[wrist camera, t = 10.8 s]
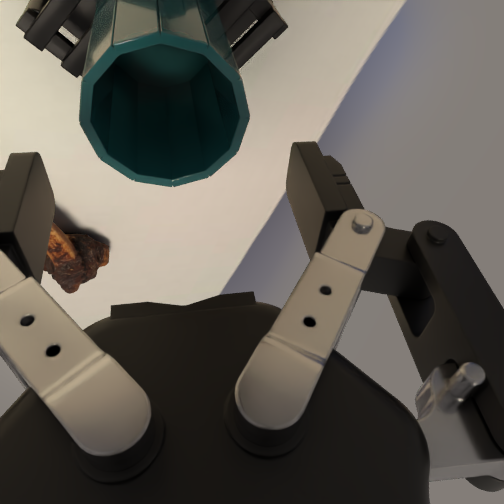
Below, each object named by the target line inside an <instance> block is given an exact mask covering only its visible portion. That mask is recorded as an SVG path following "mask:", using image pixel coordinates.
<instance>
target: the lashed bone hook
mask: <svg viewBox="0 0 504 504" xmlns="http://www.w3.org/2000/svg"><path fill="white" fill-rule="evenodd" d="M108 262H109V246H108V245H106V244H104V243H100V242H98V241H95V240H93V238H91V237H89V236H88V235H87V234H86V235H81V234H64V233H63V232H62V230H61V229H60V228H59V227H58V226H56V225H55V224H54V223H52V228H51V233H50V238H49V243H48V248H47V254H46V259H45V264H44V269H43V270H44V271H48V274H52V278H53V279H54V280H56V281H57V283H58V284H59V285H60V286H61V288H62V289H63V290H64V291H65V292H67V293H74V292H75V291H77V290H78V288H79V285H80V284H83V283H85V282H87V281H89V280H90V279H93V278H95V277H96V274H97V270H98V268H99V267H101V266H105V265H107V263H108Z"/></svg>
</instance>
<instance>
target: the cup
mask: <svg viewBox="0 0 504 504" xmlns="http://www.w3.org/2000/svg"><path fill="white" fill-rule="evenodd" d="M249 117H250V113H249V109H248V104H247V100H246V95H245V91H244V86H243V82H242V78H241V75H240V72H239V69H238V67H237V64H236V61H235V58H234V55H233V52H232V50H231V47H230V44H229V41H228V38H227V36H226V33H225V30H224V27H223V24H222V21H221V19H220V16H219V13H218V10H217V7H216V5H215V2H214V0H97V4H96V9H95V14H94V20H93V25H92V30H91V35H90V40H89V45H88V50H87V56H86V61H85V66H84V71H83V76H82V81H81V95H80V110H79V122H80V125H81V127H82V129H83V131H84V133H85V134H86V136H87V138H88V140H89V141H90V143H91V145H92V147H93V149H94V150H95V152H96V154H97V156H98V157H99V158H100V159H101V160H102V161H103V162H105V163H106V164H108V165H109V166H111V167H112V168H114V169H116V170H117V171H119V172H120V173H122V174H123V175H125V176H126V177H128V178H129V179H131V180H134V181H135V182H142V183H149V184H155V185H162V186H168V187H172V185H173V186H174V187H175V186H179V185H183V184H186V183H190V182H194V181H197V180H201V179H205V178H208V177H209V176H212V175H213V174H214V173H215V172H216V171H217V170H219V169H220V168H221V167H222V166H223V165H224V164H225V163H227V162H228V161H229V160H230V159H231V158H232V157H233V156H235V155H236V154H237V152H238V150H239V148H240V145H241V142H242V139H243V136H244V134H245V131H246V128H247V125H248V122H249V119H250V118H249Z"/></svg>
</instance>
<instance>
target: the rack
mask: <svg viewBox="0 0 504 504" xmlns="http://www.w3.org/2000/svg"><path fill="white" fill-rule="evenodd" d="M214 2H215V5H216V7H217V10H218V13H219V16H220V19H221V21H222V24H223V27H224V30H225V33H226V36H227V38H228V41H229V44H230V46H231V45H232V44H233V43H234V42H235V41H236V40H237V39H238V37H239V36H240V35H241V34H242V33H243V32H244V31H245V30H246V29H247V28H248V27H249V26H250V25H251V24H252V23H253V22H254V21H255V20H256V19H257V20H258V21H257V22H256V23H255V24H254V26H253V27H252V28H251V29H250V30H249V31H248V32H247V33H246V34H245V35H244V36H243V37H242V38H241V39H240V40H239V41H238V42H237V43H236V44H235V45H234V46H233V47H232V48H231V50H232V52H233V55H234V58H235V61H236V64H237V67H238V69H240V68H241V67H242V66H243V65H244V64H245V63H246V62H247V61H248V60H249V59H250V58H251V57H252V56H253V55H254V54H255V53H256V52H257V51H258V50H259V49H260V48H261V47H262V46H263V45H264V44H265V43H266V42H267V41H268V40H269V39H271V38H272V37H273V38H274V39H276V38H278V37H279V36H280V35H281V34H282V33H283V32H284V31H285V30H286V29H287V28H288V25H287V24H286V22H285V21H284V20H283V18H282V17H281V16H280V14H279V13H278V11H277V9H276V8H275V6H274V5H273V1H272V0H214ZM96 4H97V0H30V1H29V3H28V5H27V7H26V9H25V11H24V13H23V14H22V16H21V17H20V19H19V20H18V22H17V23H16V26H17V27H18V28H19V29H21V30H22V31H23V32H25V35H24V38H25V39H26V40H27V41H29V42H30V43H31V44H33V45H34V46H35V47H37V48H38V49H39V50H40V51H43V50H44V48H45V49H47V50H48V51H49V52H51V53H52V54H53V55H55V56H56V57H57V58H59V59H60V60H61V61H62V62H61V66H62V67H63V68H64V69H66V70H67V71H68V72H70V73H71V74H72V75H74V76H75V77H76V78H77V77H79V75H81V76H83V71H84V66H85V61H86V56H87V50H88V45H89V40H90V35H91V30H92V25H93V20H94V14H95V9H96ZM61 26H63V27H64V28H66V29H67V30H68V31H69V32H70V33H72V34H73V35H74V36H75V37H76V38H78V39H79V40H78V41H77V42H76V44H75V45H74V44H73V43H72V42H71V41H70V40H68V39H67V38H66V37H65V36H63V35H62V34H61V33H60V32H58V30H59V29H60V27H61Z"/></svg>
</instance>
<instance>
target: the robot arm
mask: <svg viewBox="0 0 504 504" xmlns="http://www.w3.org/2000/svg"><path fill="white" fill-rule="evenodd" d="M286 191H287V196H288V199H289V202H290V205H291V208H292V211H293V214H294V216H295V219H296V222H297V225H298V228H299V230H300V233H301V236H302V239H303V242H304V244H305V247H306V250H307V253H308V255H309V258H310V262H309V264H308V266H307V267H306V269H305V271H304V272H303V274H302V276H301V278H300V279H299V281H298V283H297V285H296V286H295V288H294V289H293V291H292V293H291V295H290V296H289V298H288V300H287V302H286V303H285V305H284V307H283V308H282V309H280V308H278V307H276V306H273V305H270V304H266V303H262V302H256V301H255V296H254V292H243V293H233V294H223V295H218V296H215V297H211V298H208V299H205V300H202V301H199V302H196V303H193V304H190V305H186V306H180V305H171V304H162V303H153V302H141V303H131V304H121V305H111V316H110V317H107V318H104V319H102V320H100V321H98V322H96V323H94V324H92V325H90V326H88V327H87V328H86V329H84V330H82V329H81V328H80V327H79V326H78V324H77V323H76V322H75V321H74V320H73V319H72V318H71V317H70V316H69V315H68V314H67V313H66V312H65V311H64V310H63V308H62V307H61V306H60V305H59V304H58V303H57V302H56V301H55V300H54V299H53V298H52V297H51V296H50V295H49V294H48V292H47V291H46V290H45V289H44V288H43V287H42V286H41V285H40V284H41V279H42V274H43V269H44V264H45V259H46V254H47V248H48V243H49V238H50V233H51V228H52V223H53V218H54V213H55V199H54V194H53V190H52V187H51V185H50V182H49V179H48V176H47V173H46V170H45V167H44V164H43V161H42V158H41V156H40V154H39V153H38V152H28V153H11V154H10V156H9V159H8V162H7V164H6V167H5V170H0V356H1V357H2V358H3V360H4V361H5V362H6V363H7V365H8V366H9V368H10V369H11V370H12V372H13V373H14V374H15V376H16V377H17V378H18V380H19V381H20V383H21V384H22V385H23V386H24V388H25V389H26V390H25V391H24V392H23V394H22V395H21V396H20V397H19V398H18V399H17V400H16V401H15V402H14V403H13V405H11V407H10V408H9V409H8V410H7V411H6V412H5V413H4V414H3V415H2V416H1V417H0V504H430V501H429V482H431V481H440V480H449V479H459V478H466V480H468V481H469V482H470V483H471V484H472V485H474V486H475V487H477V488H479V489H481V490H485V491H489V492H495V491H499V490H501V489H503V488H504V309H503V307H502V305H501V304H500V302H499V301H498V299H497V297H496V296H495V294H494V293H493V291H492V289H491V288H490V286H489V285H488V283H487V281H486V280H485V278H484V276H483V275H482V273H481V272H480V270H479V268H478V267H477V265H476V263H475V262H474V260H473V259H472V257H471V255H470V254H469V252H468V251H467V249H466V247H465V246H464V244H463V242H462V241H461V239H460V238H459V236H458V235H457V233H456V232H455V231H454V230H453V229H452V228H450V227H449V226H447V225H445V224H443V223H440V222H437V221H428V220H427V221H421V222H419V223H417V224H416V225H415V226H414V228H413V230H412V232H410V231H404V230H397V229H393V228H388V227H385V224H384V222H383V220H382V219H381V218H380V217H379V216H378V215H376V214H374V213H373V212H370V211H368V210H365V209H364V207H363V206H362V204H361V202H360V200H359V198H358V196H357V194H356V192H355V190H354V188H353V186H352V185H351V184H350V181H349V179H348V177H347V176H346V173H345V171H344V169H343V167H342V165H341V164H340V163H339V162H338V161H336V160H335V159H334V158H333V157H331V156H323V155H322V153H321V151H320V149H319V147H318V145H317V143H316V142H315V141H312V142H294V143H293V144H292V147H291V153H290V159H289V166H288V172H287V179H286ZM361 290H364V291H370V292H375V293H381V294H387V296H388V298H389V300H390V303H391V305H392V308H393V310H394V313H395V315H396V318H397V320H398V323H399V325H400V327H401V330H402V332H403V335H404V337H405V340H406V342H407V345H408V347H409V350H410V352H411V354H412V357H413V359H414V362H415V364H416V366H417V369H418V372H419V374H420V377H421V379H422V381H423V384H422V386H421V387H420V388H419V390H418V391H417V394H416V399H415V400H416V407H417V412H418V419H415V417H414V416H413V414H412V413H411V412H410V411H409V410H408V408H407V407H406V406H405V405H404V404H402V403H401V402H400V401H399V400H398V399H397V398H395V397H394V396H392V394H390V393H389V392H388V391H386V390H385V389H384V388H383V387H381V386H380V385H379V384H378V383H376V382H375V381H374V380H373V379H371V378H370V377H369V376H368V375H366V374H365V373H364V372H362V371H361V370H360V369H359V368H358V367H356V366H355V365H354V364H352V363H351V362H350V361H349V360H347V359H346V358H345V357H344V356H342V355H341V354H340V353H339V352H337V351H336V348H337V346H338V344H339V341H340V339H341V336H342V334H343V332H344V329H345V327H346V325H347V322H348V320H349V318H350V316H351V313H352V311H353V308H354V306H355V304H356V302H357V300H358V297H359V295H360V293H361Z"/></svg>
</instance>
